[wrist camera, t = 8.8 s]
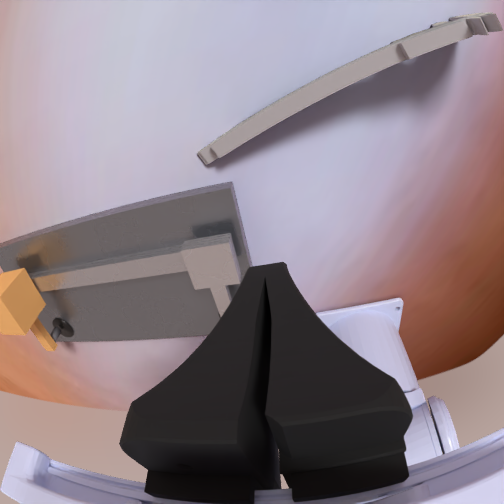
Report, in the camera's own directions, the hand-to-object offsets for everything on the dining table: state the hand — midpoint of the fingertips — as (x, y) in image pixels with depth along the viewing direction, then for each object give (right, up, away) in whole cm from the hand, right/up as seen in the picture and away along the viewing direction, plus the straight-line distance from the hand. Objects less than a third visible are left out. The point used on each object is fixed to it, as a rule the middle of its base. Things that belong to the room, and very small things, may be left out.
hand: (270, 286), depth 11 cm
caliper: (+5, +12, +5) cm, 14 cm away
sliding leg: (-21, -3, +13) cm, 25 cm away
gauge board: (-13, -1, +13) cm, 18 cm away
